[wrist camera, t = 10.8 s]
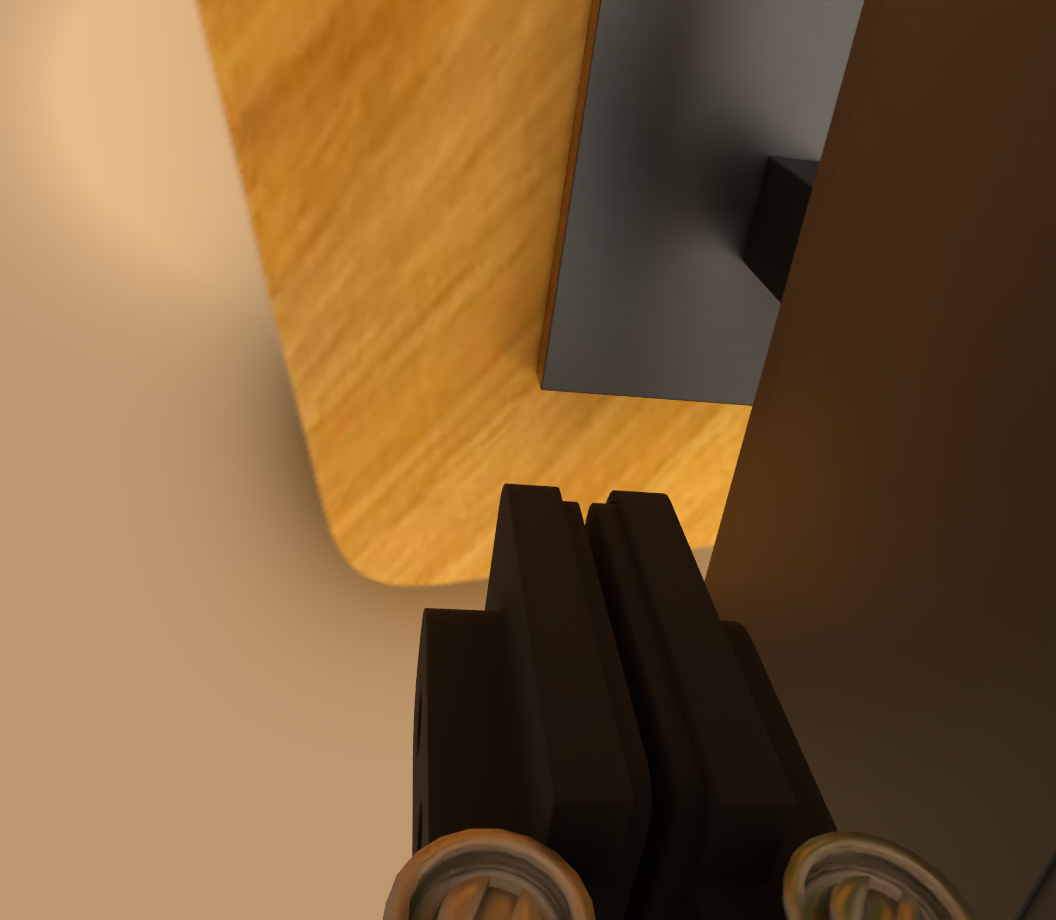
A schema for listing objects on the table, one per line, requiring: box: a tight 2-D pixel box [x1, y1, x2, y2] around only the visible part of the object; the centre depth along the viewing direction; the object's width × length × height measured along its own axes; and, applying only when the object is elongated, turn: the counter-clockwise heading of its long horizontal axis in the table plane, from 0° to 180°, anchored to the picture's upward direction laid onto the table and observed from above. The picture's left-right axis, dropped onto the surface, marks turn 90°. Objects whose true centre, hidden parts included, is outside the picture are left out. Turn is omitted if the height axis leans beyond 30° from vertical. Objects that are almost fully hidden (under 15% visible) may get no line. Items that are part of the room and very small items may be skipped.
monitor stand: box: [537, 0, 864, 406], centre depth 23 cm, size 10×12×12 cm
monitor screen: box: [704, 0, 1056, 920], centre depth 15 cm, size 2×17×12 cm, turn 173°
